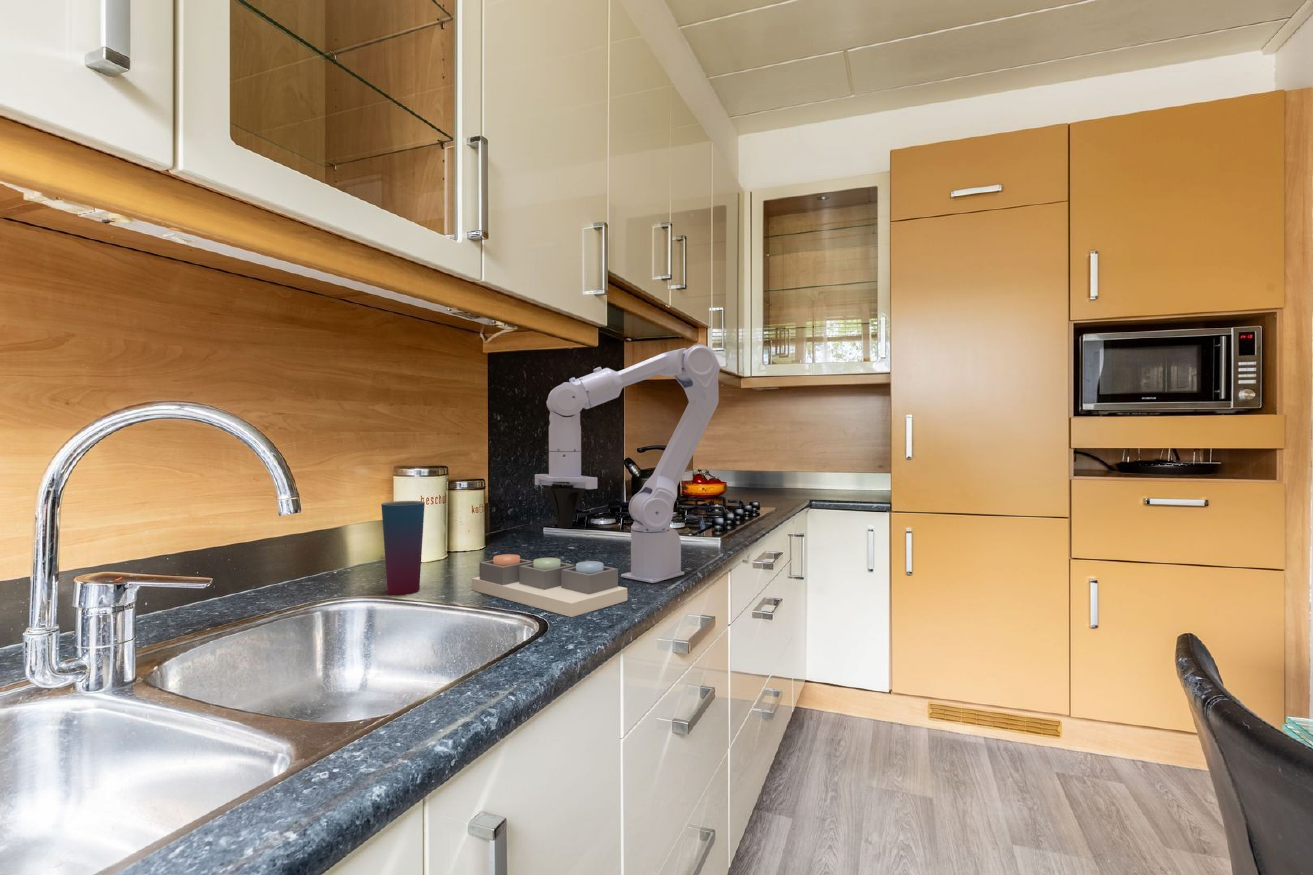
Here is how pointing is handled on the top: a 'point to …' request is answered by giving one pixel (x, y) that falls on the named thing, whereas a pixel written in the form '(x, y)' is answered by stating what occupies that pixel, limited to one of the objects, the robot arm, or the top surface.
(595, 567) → the button blue
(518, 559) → the button terracotta
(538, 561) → the button green
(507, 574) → the panel
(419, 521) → the cup
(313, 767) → the top surface
